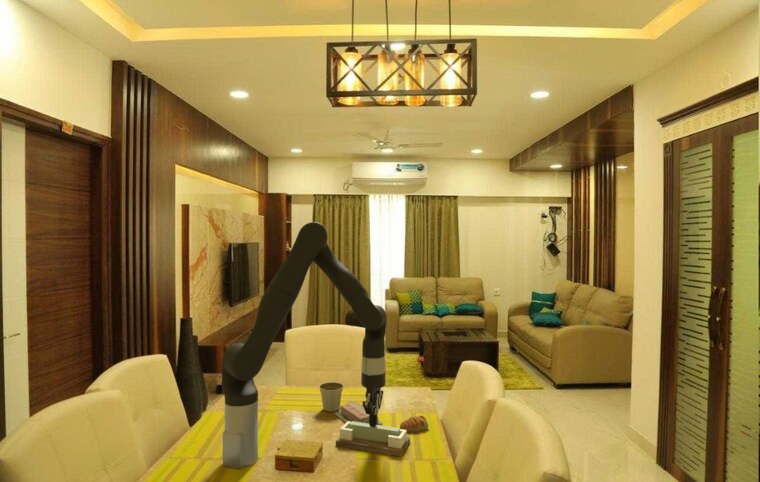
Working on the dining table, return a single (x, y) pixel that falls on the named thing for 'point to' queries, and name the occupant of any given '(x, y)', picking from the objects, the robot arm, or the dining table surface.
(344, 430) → the cap far
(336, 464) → the dining table surface
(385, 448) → the board
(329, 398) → the flower pot
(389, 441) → the cap near
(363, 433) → the slat
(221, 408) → the dining table surface
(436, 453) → the dining table surface
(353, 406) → the packaged product
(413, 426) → the pastry
